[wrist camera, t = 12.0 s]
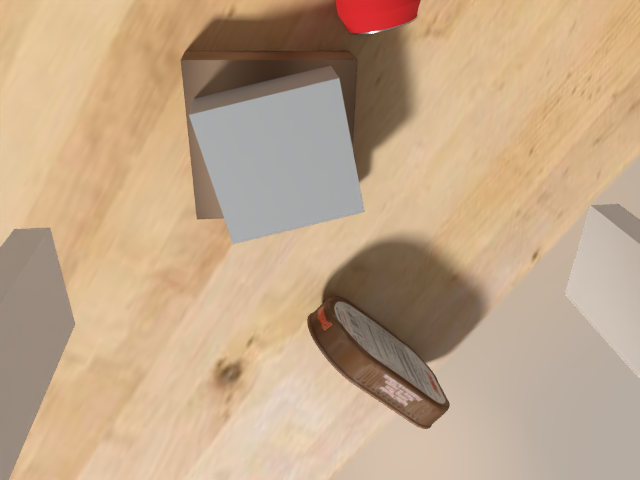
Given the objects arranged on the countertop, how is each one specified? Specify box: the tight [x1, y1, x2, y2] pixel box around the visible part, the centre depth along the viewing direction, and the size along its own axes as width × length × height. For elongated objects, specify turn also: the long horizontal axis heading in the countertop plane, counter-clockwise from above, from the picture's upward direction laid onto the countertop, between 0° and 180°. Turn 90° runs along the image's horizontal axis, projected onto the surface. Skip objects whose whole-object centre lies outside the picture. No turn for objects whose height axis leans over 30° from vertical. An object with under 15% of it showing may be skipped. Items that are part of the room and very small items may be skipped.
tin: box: [307, 297, 449, 429], centre depth 46 cm, size 15×3×8 cm, turn 46°
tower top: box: [189, 65, 364, 244], centre depth 35 cm, size 9×9×4 cm
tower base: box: [181, 51, 357, 219], centre depth 38 cm, size 11×11×4 cm
